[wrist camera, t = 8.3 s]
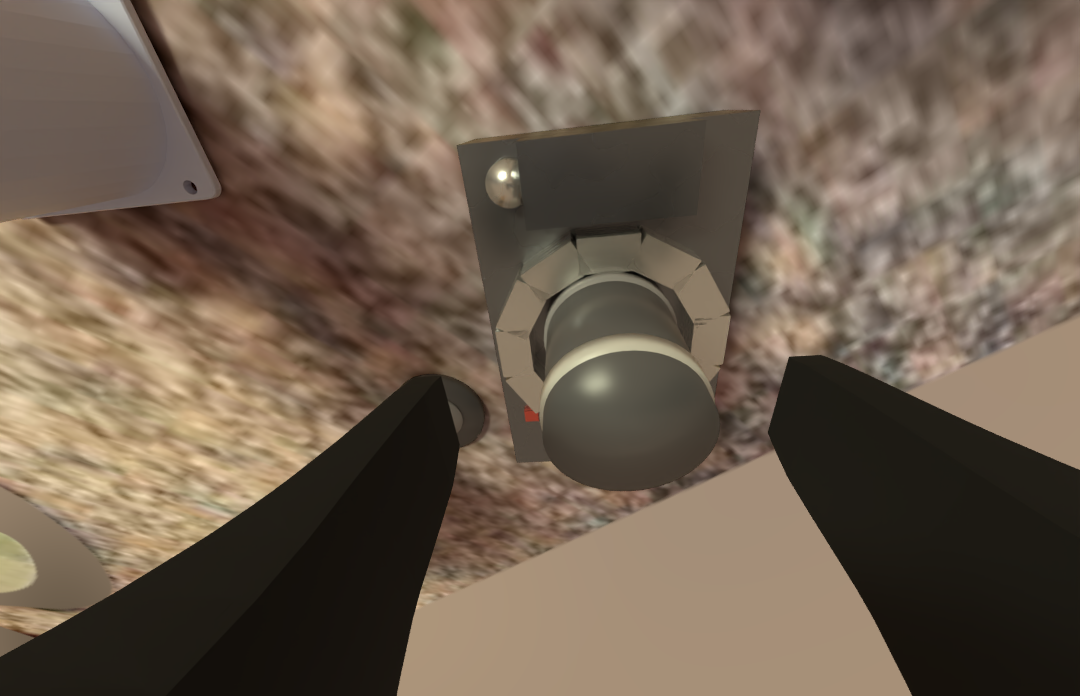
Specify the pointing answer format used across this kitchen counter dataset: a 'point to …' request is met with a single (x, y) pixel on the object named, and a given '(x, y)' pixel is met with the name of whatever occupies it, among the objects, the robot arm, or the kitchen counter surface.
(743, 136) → the camera body
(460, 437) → the lens cap
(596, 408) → the lens
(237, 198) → the kitchen counter surface
